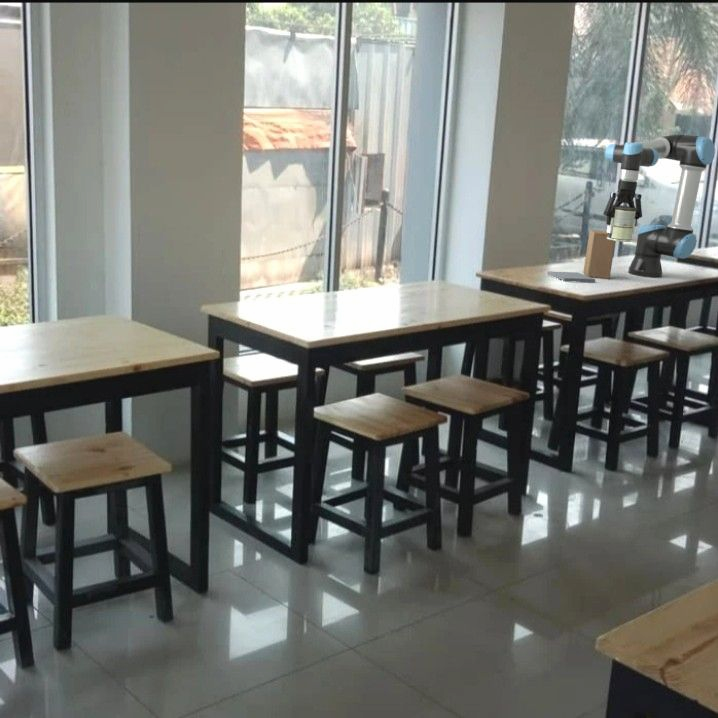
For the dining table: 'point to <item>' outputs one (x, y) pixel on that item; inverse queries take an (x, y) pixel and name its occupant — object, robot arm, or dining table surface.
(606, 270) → the wooden block
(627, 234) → the coffee can
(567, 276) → the grey mat
